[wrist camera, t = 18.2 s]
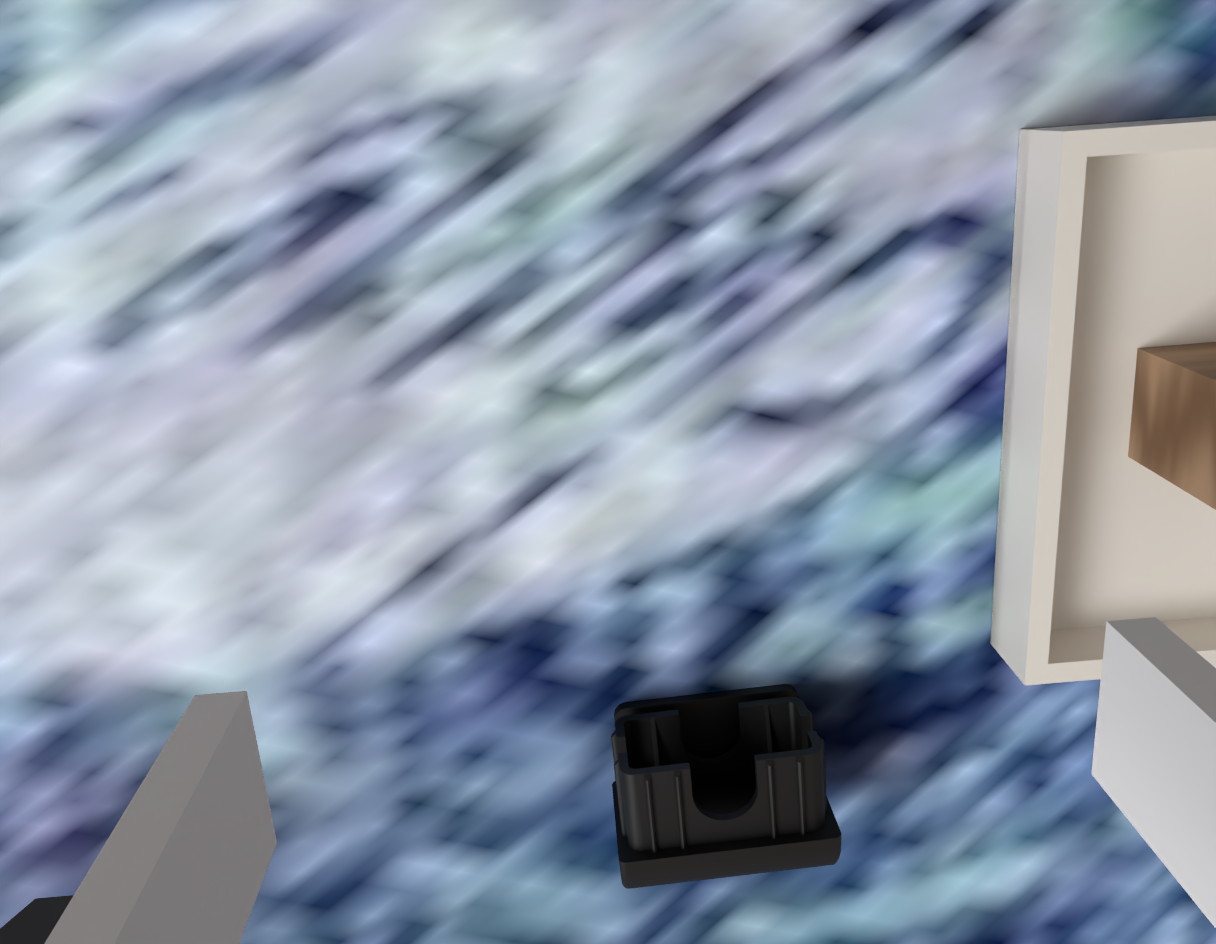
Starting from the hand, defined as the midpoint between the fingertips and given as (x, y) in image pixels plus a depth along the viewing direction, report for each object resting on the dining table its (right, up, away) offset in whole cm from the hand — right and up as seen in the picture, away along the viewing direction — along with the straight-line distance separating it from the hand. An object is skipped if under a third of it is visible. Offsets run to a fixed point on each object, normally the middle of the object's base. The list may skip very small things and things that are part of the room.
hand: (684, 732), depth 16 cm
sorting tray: (+25, +8, +32) cm, 41 cm away
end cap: (+4, -10, +37) cm, 39 cm away
